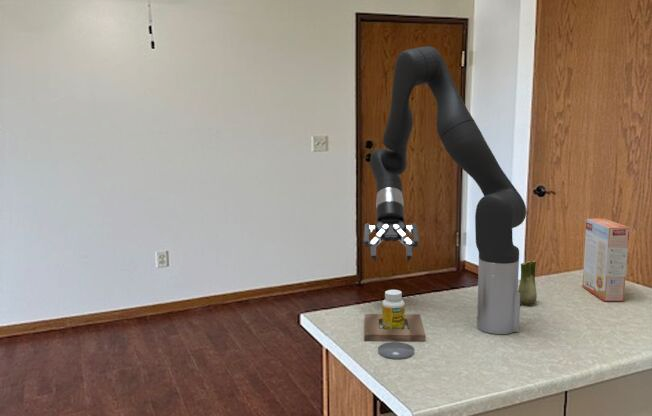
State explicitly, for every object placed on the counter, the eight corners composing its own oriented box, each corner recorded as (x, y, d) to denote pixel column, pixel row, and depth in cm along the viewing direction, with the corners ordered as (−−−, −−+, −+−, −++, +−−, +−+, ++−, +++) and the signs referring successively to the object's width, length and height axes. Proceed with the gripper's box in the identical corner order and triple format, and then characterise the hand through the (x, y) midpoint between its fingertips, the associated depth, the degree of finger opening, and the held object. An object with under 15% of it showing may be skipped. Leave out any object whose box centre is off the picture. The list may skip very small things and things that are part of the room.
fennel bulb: (532, 300, 160) (534, 258, 158) (541, 306, 155) (543, 263, 153) (512, 301, 159) (514, 259, 157) (520, 307, 154) (522, 264, 152)
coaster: (412, 344, 131) (413, 342, 131) (415, 359, 123) (415, 356, 123) (377, 344, 132) (377, 341, 132) (378, 359, 124) (378, 356, 124)
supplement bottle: (394, 324, 144) (394, 287, 142) (409, 330, 139) (409, 292, 138) (377, 329, 141) (377, 291, 139) (392, 335, 137) (392, 296, 135)
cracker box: (625, 302, 157) (630, 226, 154) (603, 302, 158) (608, 227, 154) (602, 286, 171) (606, 217, 168) (581, 287, 171) (585, 217, 168)
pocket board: (419, 319, 147) (419, 314, 146) (425, 341, 133) (425, 335, 133) (364, 319, 148) (364, 313, 147) (364, 340, 134) (364, 334, 134)
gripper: (363, 200, 156) (363, 251, 146) (417, 199, 155) (420, 251, 145) (364, 216, 162) (364, 266, 152) (415, 215, 161) (418, 266, 151)
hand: (391, 259), depth 149 cm, fingers open, 8 cm apart
